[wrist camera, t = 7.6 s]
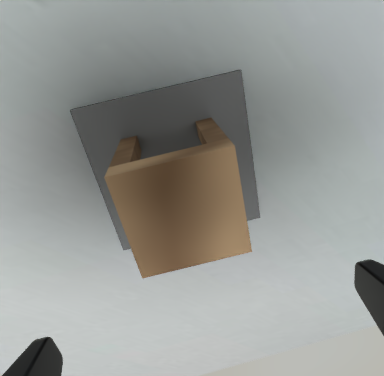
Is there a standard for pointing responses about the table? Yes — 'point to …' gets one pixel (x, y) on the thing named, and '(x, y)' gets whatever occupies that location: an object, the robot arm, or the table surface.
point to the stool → (180, 202)
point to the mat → (169, 129)
